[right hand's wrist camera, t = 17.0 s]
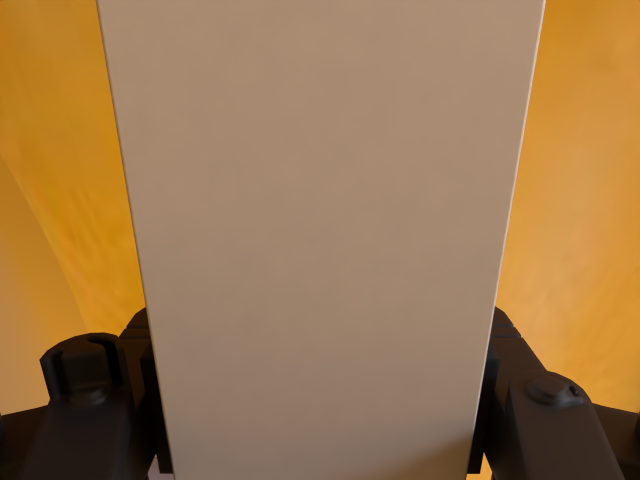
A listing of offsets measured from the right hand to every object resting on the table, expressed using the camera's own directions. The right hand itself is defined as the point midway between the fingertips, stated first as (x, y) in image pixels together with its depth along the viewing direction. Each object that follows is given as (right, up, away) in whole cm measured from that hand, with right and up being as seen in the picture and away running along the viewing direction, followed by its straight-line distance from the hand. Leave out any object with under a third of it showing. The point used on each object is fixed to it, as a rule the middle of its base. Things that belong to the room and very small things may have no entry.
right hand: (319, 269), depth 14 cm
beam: (0, +21, -8) cm, 23 cm away
